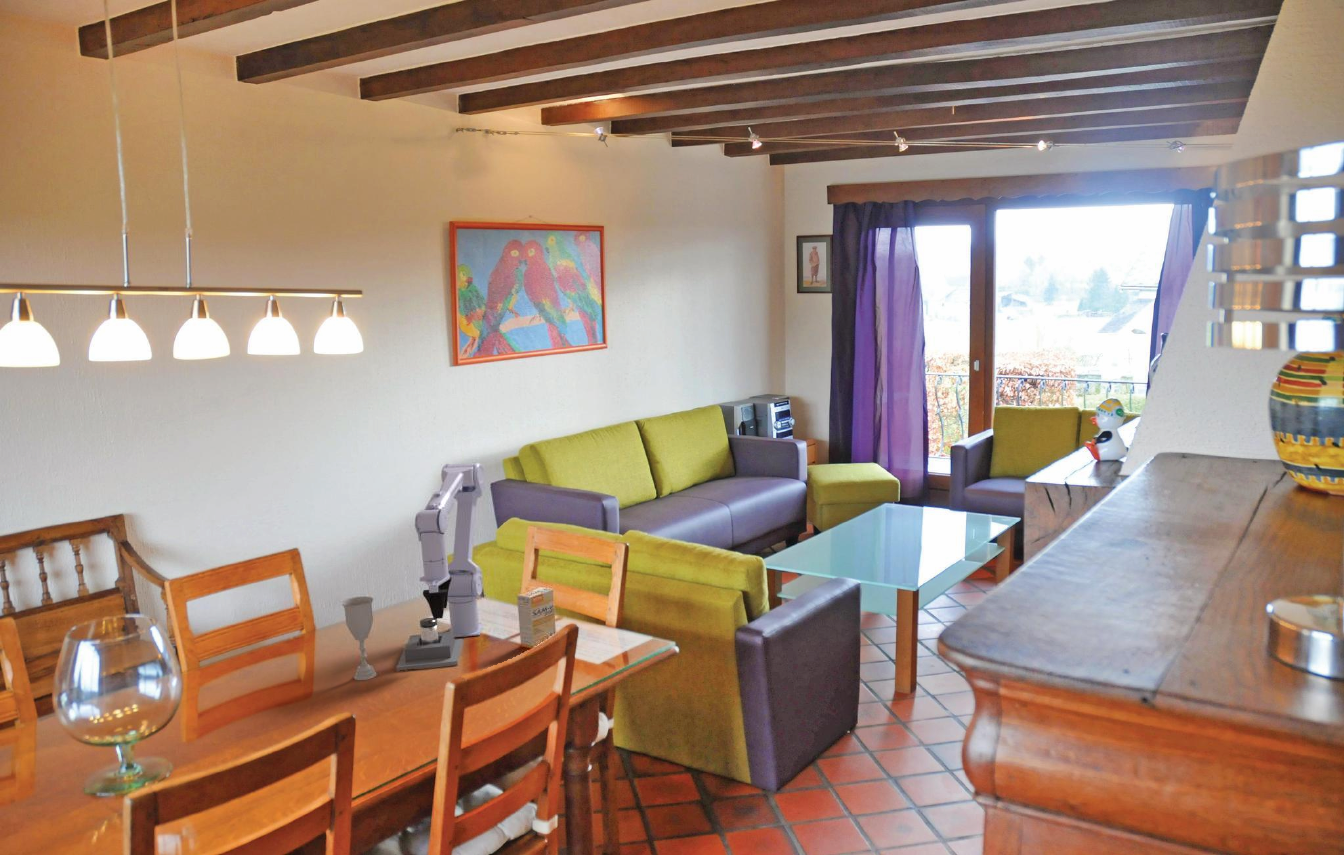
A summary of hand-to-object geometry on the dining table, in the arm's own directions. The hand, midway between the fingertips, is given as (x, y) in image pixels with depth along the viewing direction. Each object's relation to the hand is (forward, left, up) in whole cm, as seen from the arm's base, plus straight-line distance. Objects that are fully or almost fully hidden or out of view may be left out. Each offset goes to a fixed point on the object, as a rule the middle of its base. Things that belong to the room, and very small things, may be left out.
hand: (440, 613), depth 244 cm
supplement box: (-1, +23, -11) cm, 25 cm away
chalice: (+10, -17, -11) cm, 22 cm away
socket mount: (+1, -3, -10) cm, 11 cm away
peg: (+1, -3, -9) cm, 10 cm away
